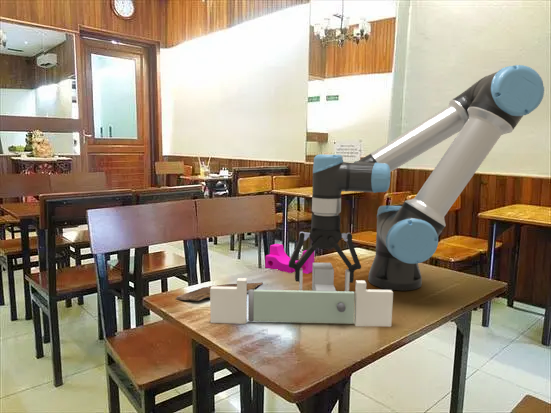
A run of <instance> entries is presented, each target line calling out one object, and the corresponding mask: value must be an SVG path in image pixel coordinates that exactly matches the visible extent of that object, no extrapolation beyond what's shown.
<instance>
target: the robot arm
mask: <svg viewBox="0 0 551 413" xmlns="http://www.w3.org/2000/svg"><path fill="white" fill-rule="evenodd" d="M543 82H544V81H543V78H542V77H541V76H540V74H539V72H537V71H536V70H535V69H534V68H532V67H530V66H527V65H524V64H515V65H509V66H505V67H503V68H501V69H499V70H498V71H496V72H493V73H490V74H489V75H486V76H484V77H482V78H480V79H479V80H477V81H476V82H475V83H474V84H472V85H471V86H469V87H468V88H467V89H466V90H464V91H462V92H461V93H460V94H459V95H457V96H456V97H454V98H452V99H451V100H450V101H449V103H448V106H446V107H445V108H443V109H441V110H440V111H438V112H437V113H435V114H433V115H431V116H430V117H428V118H426V119H425V120H423V121H422V122H420V123H419V124H416V125H415V126H413V127H412V128H410V129H408V130H406V131H405V132H404V133H402V134H400V135H399V136H397V137H395V138H394V139H391V141H389V142H387V143H385V144H384V145H382V146H380V147H379V148H377V149H376V150H373V151H372V152H370V153H369V154H367V155H365V156H364V157H363V158H361V159H359V160H356V161H354V162H347V161H344V158H343V155H342V154H325V153H324V154H323V153H322V154H320V153H319V154H317V155H315V156H314V157H313V166H312V195H311V196H312V198H311V212H312V215H311V225H310V227H311V229H310V232H304V231H303V230H301V231H299V233H298V234H299V236H298V241H297V243H296V246H295V248H294V249H293V251H292V255H291V256H290V258H291V259H290V261H289V267H290V268H294V269H295V272H294V281H295V282H298V290H300V291H303V275H304V273H303V270H302V268H301V267H302V266H303V265H304V263H305V262H306V261H307V259H308V258H309V257H310V256H311V254H312V253H313V252H314V253H315V251H316V250H317V249H319V250H325V249H327V250H332V249H334V250H335V252H337V254H338V256H339V257H340V258H341V260H342V261H343V262H344V264H345V265H346V267H347V268H345V274H344V276H345V277H344V291H349V292H350V284H351V283H354V278H355V277H354V276H355V275H354V274H355V272H356V270H361V269H362V265H361V262H360V259H359V258H358V255H357V251H356V249H355V246H354V244H353V235H352V233H351V232H350V231H348V232H346V233H345V232H343V233H341V215H340V213H341V212H342V192H360V193H373V194H375V193H386V192H387V191H388V190H390V189H389V188H390V185H391V172H392V171H393V172H394V170H397V169H398V168H400V167H401V166H403V165H405V164H406V163H408V162H410V161H411V160H413V159H416V157H418V156H420V155H422V154H424V153H425V152H427V151H428V150H430V149H432V148H434V147H436V146H437V145H439V144H440V143H442V142H444V141H446V140H448V139H450V138H451V137H452V136H454V135H456V134H457V133H458V134H457V135H456V136H455V137H454V139H453V141H452V142H451V144H450V146H449V147H448V148H447V150H446V151H445V153H444V154H443V155H442V157H441V158H440V160H439V161H438V163H437V165H436V166H435V167H434V168H433V170H432V171H431V173H430V175H429V176H428V178H426V181H425V182H424V183H423V185H422V187H421V188H420V190H418V192H417V194H416V195H415V196H414V198H411V199H407V200H405V201H404V202H403V204H402V205H380V206H378V209H377V214H376V236H375V240H376V241H375V255H374V259H373V261H372V264H371V266H370V269H369V272H368V282H369V284H370V285H373V286H375V287H378V288H381V289H384V290H392V291H413V290H418V289H420V288H421V287H422V283H423V282H422V280H423V278H422V274H421V273H422V272H421V270H420V266H419V264H421V263H423V262H426V261H428V260H429V259H430V258H432V256H434V254H435V253H436V251H437V248H438V245H439V236H440V235H441V233H442V232H443V230H444V229H445V227H446V225H447V224H446V220H445V216H446V215H447V214H448V212H449V210H450V209H451V207H452V206H453V205H454V203H456V201H457V199H458V197H459V196H460V195H461V194H462V192H463V190H464V189H465V188H466V187H467V185H468V184H469V182H470V181H471V179H472V178H473V176H475V174H476V172H477V171H478V170H479V168H480V167H481V165H482V164H483V162H484V161H485V159H486V158H487V156H488V155H489V153H490V152H491V151H492V149H493V148H494V147H495V145H496V143H497V142H498V141H499V140H500V138H501V136H503V135H506V134H510V133H512V132H513V131H514V129H515V128H516V127H517V125H518V124H519V123H520V121H521V119H522V118H523V117H524V116H526V115H529V114H531V113H532V112H533V111H535V110H536V109H538V107H539V106H540V105H541V103H542V102H543V99H544V95H545V86H544V83H543ZM308 239H310V240H311V241H312V242H311V243H310V244H309V247H308V248H307V249H306V250H307V251H306V252H305V253H304V254H303V253H302V254H303V256H302V255H301V256H302V257H301V256H300V258H299V259H300V260H299V259H298V257H299V254H300V252H301V250H302V247H303V245H304V242H305V241H307V240H308ZM342 239H343V240H344V242H346V244H347V247H348V251H349V252H350V255H351V257H352V260H353V263H351V261H350V260H349V258H348V257H347V256H346V255H345V252H344V251H343V250H342V249H341V247H340V245H339V244H338V243H339V242H340V241H341V240H342ZM296 260H297V261H298V260H299V261H298V262H297V263H295V261H296Z"/></svg>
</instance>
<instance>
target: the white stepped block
mask: <svg viewBox="0 0 551 413" xmlns="http://www.w3.org/2000/svg"><path fill="white" fill-rule="evenodd" d="M311 276H312V277H311V291H337V290H336V287H335V285H334V282H335V281H334V279H335V269H334V267H333V264H332V263H331V262H314V263H313V271H312V272H311Z"/></svg>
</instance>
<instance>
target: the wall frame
mask: <svg viewBox="0 0 551 413" xmlns="http://www.w3.org/2000/svg"><path fill="white" fill-rule="evenodd" d="M247 279H248V278H247V277H237V280H236V284H237V287H222V286H217V285H210V286H211V288H210V297H209V299H210V300H209V302H210V304H209V305H210V323H211V324H237V325H239V324H240V325H242V324H243V325H246V324H247V318H248V316H247V314H248V307H247V305H248V303H247V302H248V301H247V299H248V296H247V295H248V294H247V292H248V291H247V283H248V280H247ZM393 291H394V290H390V289H372V288H371V289H367V282H366V280H362V279H361V280H358V279H356V280H355V291H354V293H355V300H354V323H353V324H354V326H355V327H364V328H365V327H392V321H393V305H394V304H393V303H394V302H393V301H394V292H393Z"/></svg>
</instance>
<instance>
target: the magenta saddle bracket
mask: <svg viewBox="0 0 551 413" xmlns="http://www.w3.org/2000/svg"><path fill="white" fill-rule="evenodd" d="M306 251H307V249H305V250H303V251H302V254H301V256H300V258H301V257H302V256H303V254H304V253H305V252H306ZM300 258H299V259H296V261H295V263H297V262H298V261H299V260H300ZM264 259H265V261H264V263H265V266H264V268H266V269H270V270H274V269H278V270H277V271H279V270H280V271H279V272H286V273H290V274H293V273H295V269H294V268H290V267H289V261H290V259H291V257H290V256H288V255H287V253H286V251H285V249H284V244H283V243H274V244H270V245H269V254H266V255H265V258H264ZM313 263H315V251H314V252H313V253H312V254H311V256H310V257H309V258H308V259H307V261H306V262H305V263H304V265H303V266H302V267H301V268H302V270H303V274H307V275H308V274H310V273H311V274H312V271H313Z"/></svg>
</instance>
